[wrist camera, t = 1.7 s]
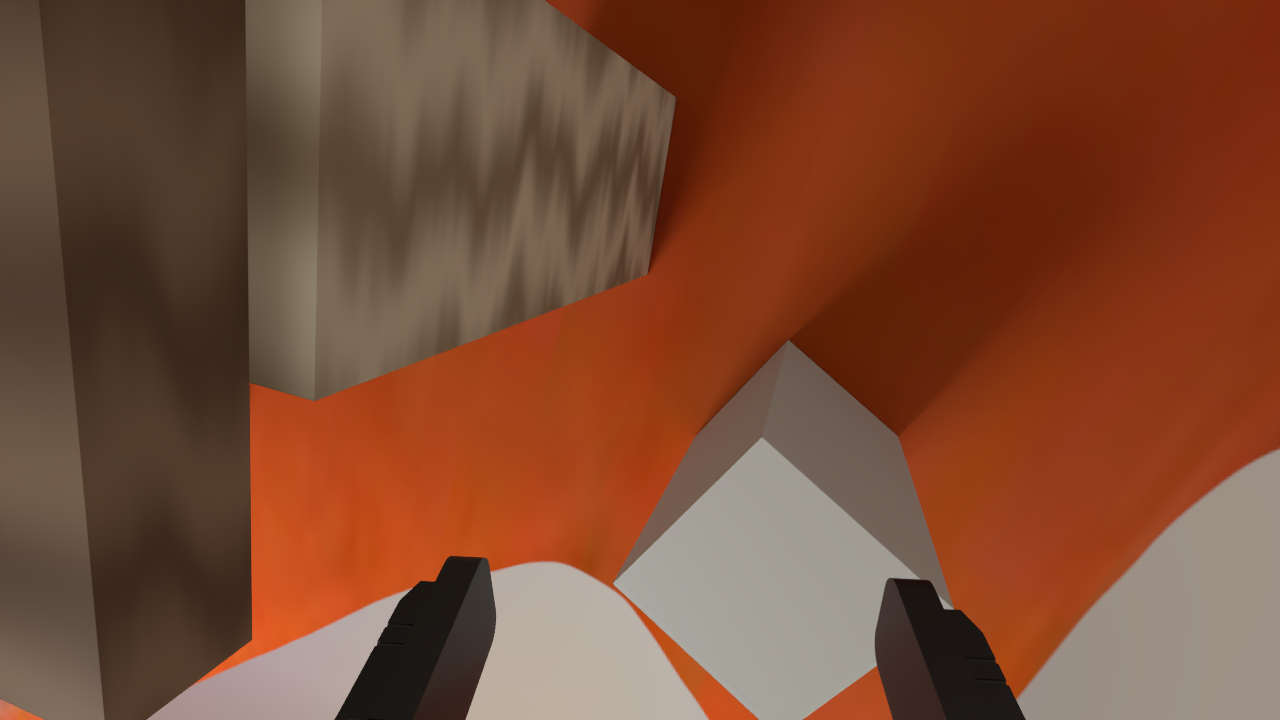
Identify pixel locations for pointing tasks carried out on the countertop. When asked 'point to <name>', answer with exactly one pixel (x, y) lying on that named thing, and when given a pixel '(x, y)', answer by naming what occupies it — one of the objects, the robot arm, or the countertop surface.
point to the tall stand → (434, 178)
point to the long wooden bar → (122, 352)
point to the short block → (783, 541)
